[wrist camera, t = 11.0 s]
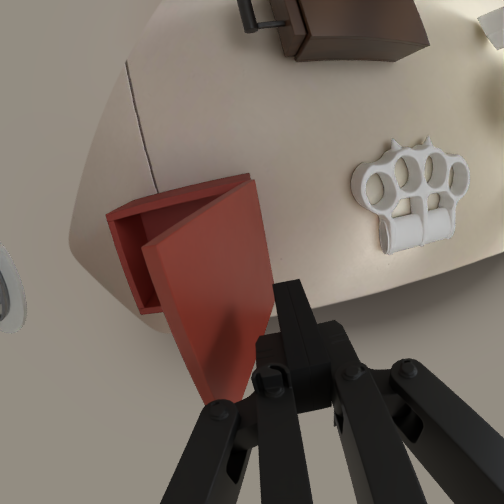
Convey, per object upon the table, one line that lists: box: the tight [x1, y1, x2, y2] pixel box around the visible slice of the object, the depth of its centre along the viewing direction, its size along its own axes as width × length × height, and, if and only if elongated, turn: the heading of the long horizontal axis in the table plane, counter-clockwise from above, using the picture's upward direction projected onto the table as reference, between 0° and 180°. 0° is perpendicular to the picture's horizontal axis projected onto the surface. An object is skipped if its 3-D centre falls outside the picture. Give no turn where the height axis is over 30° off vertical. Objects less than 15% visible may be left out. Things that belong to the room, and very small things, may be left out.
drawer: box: [237, 0, 308, 56], centre depth 21 cm, size 17×10×7 cm, turn 101°
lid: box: [141, 180, 275, 405], centre depth 19 cm, size 16×12×1 cm
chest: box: [106, 173, 251, 315], centre depth 30 cm, size 15×12×8 cm
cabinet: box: [294, 0, 430, 62], centre depth 20 cm, size 14×12×9 cm
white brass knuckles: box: [351, 134, 470, 255], centre depth 31 cm, size 3×18×15 cm
